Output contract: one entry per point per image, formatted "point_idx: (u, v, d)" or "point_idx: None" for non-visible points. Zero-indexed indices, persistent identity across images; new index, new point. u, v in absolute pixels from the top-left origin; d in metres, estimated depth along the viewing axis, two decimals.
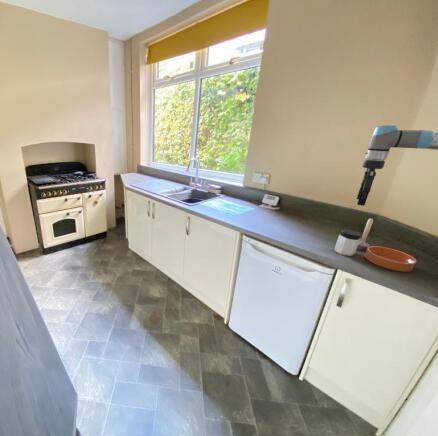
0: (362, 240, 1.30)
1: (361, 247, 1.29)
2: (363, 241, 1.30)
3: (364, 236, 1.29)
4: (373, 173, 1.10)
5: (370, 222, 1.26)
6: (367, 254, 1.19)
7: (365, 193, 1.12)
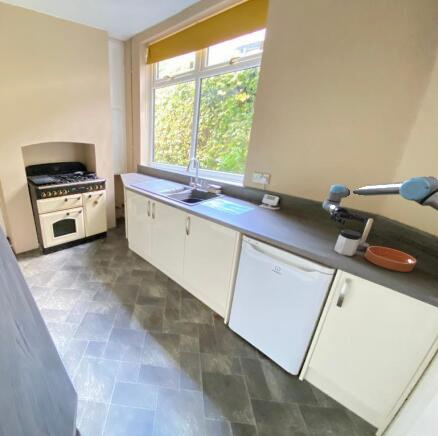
0: (362, 240, 1.30)
1: (361, 247, 1.29)
2: (363, 241, 1.30)
3: (364, 236, 1.29)
4: (331, 212, 1.52)
5: (370, 222, 1.26)
6: (367, 254, 1.19)
7: (335, 218, 1.44)
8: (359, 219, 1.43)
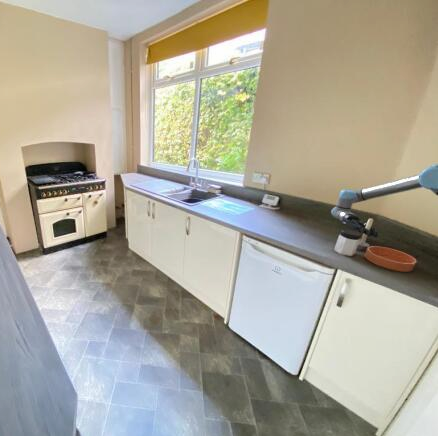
0: (362, 240, 1.30)
1: (361, 247, 1.29)
2: (363, 241, 1.30)
3: (364, 236, 1.29)
4: (344, 221, 1.39)
5: (370, 222, 1.26)
6: (367, 254, 1.19)
7: (359, 229, 1.29)
8: None
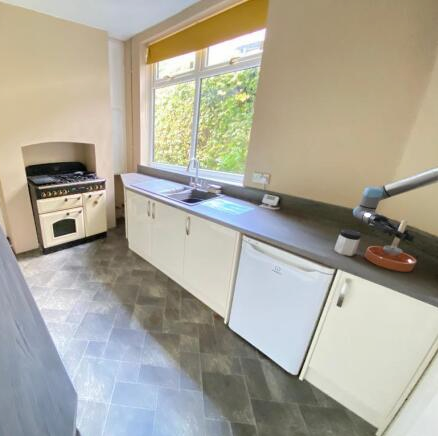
0: (394, 245, 1.14)
1: (393, 253, 1.13)
2: (395, 246, 1.13)
3: (396, 240, 1.12)
4: (371, 223, 1.22)
5: (404, 224, 1.09)
6: (367, 254, 1.19)
7: (391, 232, 1.13)
8: None
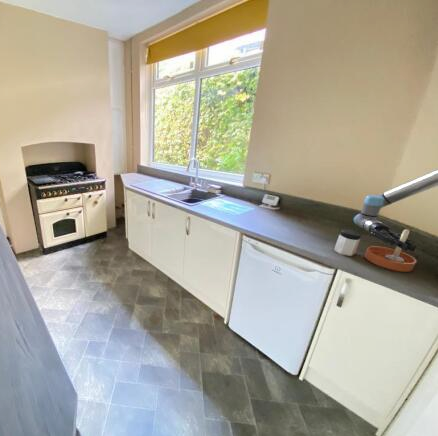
0: (395, 254, 1.13)
1: None
2: (396, 255, 1.13)
3: (398, 249, 1.12)
4: (372, 232, 1.22)
5: (406, 234, 1.09)
6: (367, 254, 1.19)
7: (393, 241, 1.13)
8: None
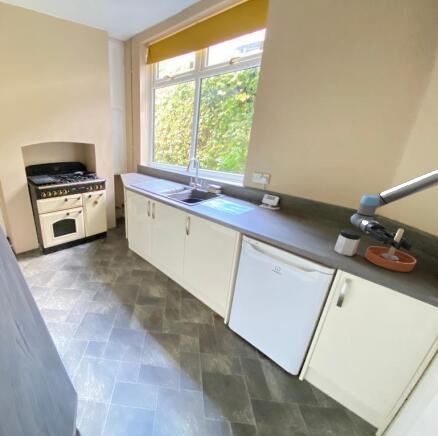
0: (390, 253, 1.15)
1: None
2: (391, 254, 1.15)
3: (393, 248, 1.14)
4: (367, 231, 1.24)
5: (400, 233, 1.11)
6: (367, 254, 1.19)
7: (386, 240, 1.15)
8: None
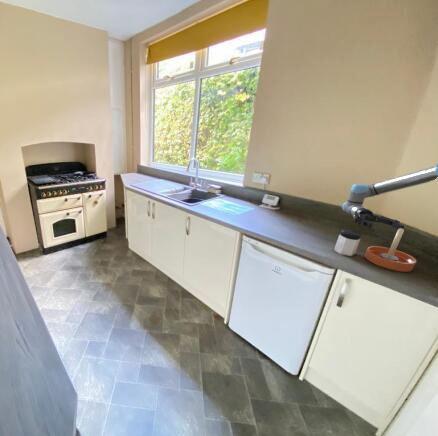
0: (390, 253, 1.15)
1: None
2: (391, 254, 1.15)
3: (393, 248, 1.14)
4: (354, 214, 1.36)
5: (400, 233, 1.11)
6: (367, 254, 1.19)
7: (360, 221, 1.28)
8: (387, 222, 1.27)
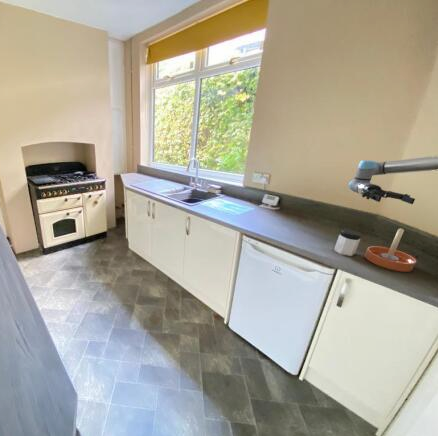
0: (390, 253, 1.15)
1: None
2: (391, 254, 1.15)
3: (393, 248, 1.14)
4: (361, 190, 1.31)
5: (400, 233, 1.11)
6: (367, 254, 1.19)
7: (368, 195, 1.23)
8: (397, 196, 1.23)
